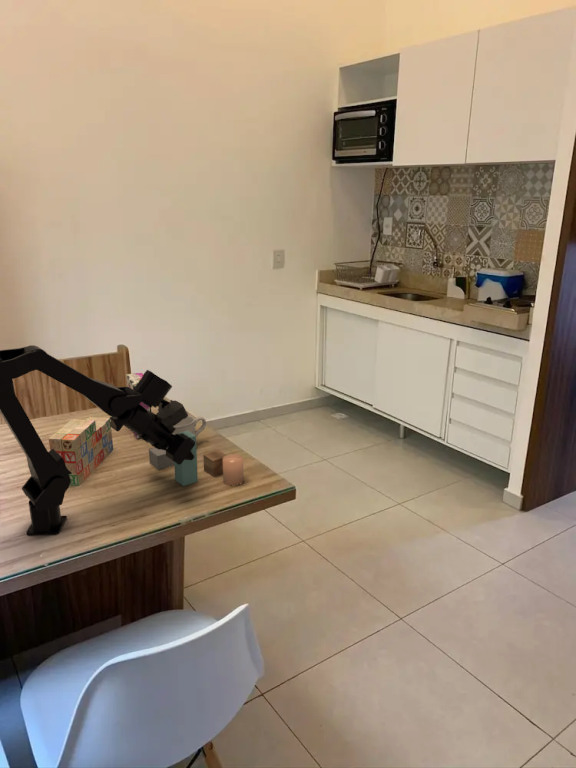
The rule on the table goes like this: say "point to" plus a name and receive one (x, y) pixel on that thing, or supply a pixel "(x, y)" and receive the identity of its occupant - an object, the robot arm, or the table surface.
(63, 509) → the table surface
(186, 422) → the teacup
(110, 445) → the stack of blocks
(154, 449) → the gray block
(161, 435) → the robot arm
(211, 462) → the walnut cube
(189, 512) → the table surface
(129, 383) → the candy bar box
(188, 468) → the teal block
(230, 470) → the peach rounded cylinder
